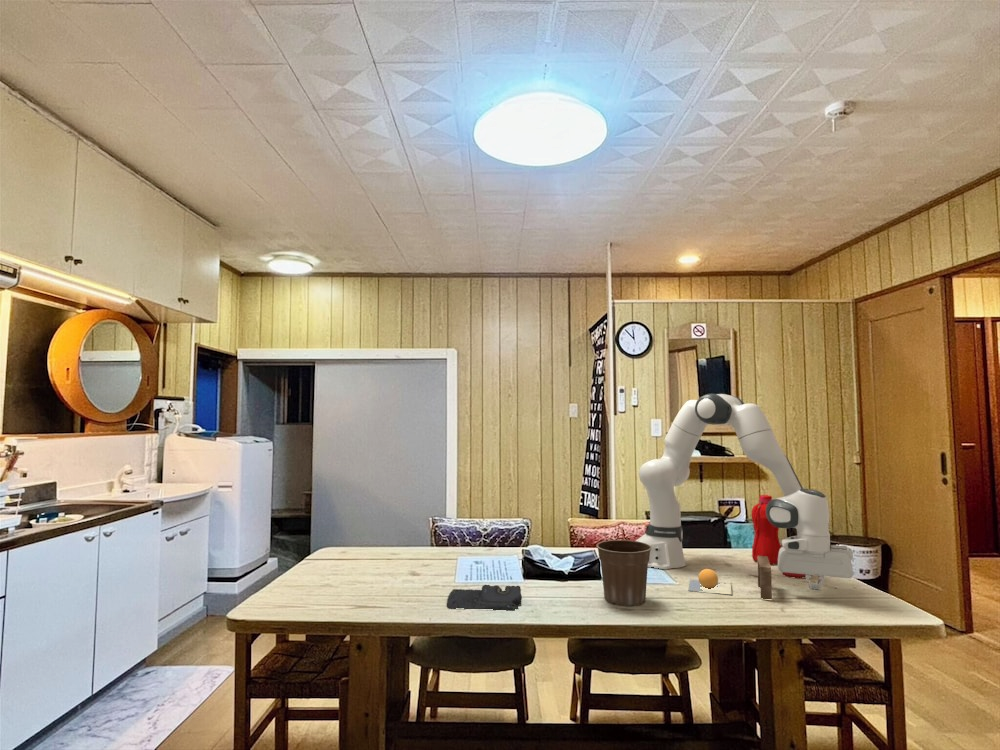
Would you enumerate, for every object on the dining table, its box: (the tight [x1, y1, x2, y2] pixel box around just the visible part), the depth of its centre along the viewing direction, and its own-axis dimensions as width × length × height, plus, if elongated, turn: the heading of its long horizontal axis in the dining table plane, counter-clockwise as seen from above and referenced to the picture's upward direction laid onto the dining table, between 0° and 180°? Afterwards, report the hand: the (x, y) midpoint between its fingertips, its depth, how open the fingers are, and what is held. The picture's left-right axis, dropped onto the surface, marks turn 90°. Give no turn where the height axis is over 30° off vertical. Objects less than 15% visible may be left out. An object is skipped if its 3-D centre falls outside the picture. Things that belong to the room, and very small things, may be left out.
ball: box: [698, 568, 719, 589], centre depth 188 cm, size 6×6×6 cm
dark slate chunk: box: [446, 584, 523, 612], centre depth 173 cm, size 15×22×5 cm
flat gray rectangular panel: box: [687, 579, 732, 592], centre depth 188 cm, size 13×13×1 cm
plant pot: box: [596, 539, 652, 607], centre depth 176 cm, size 16×16×16 cm
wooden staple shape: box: [757, 556, 773, 600], centre depth 183 cm, size 3×15×10 cm, turn 159°
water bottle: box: [751, 494, 781, 566], centre depth 222 cm, size 9×11×25 cm
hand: (814, 589), depth 178 cm, fingers closed
